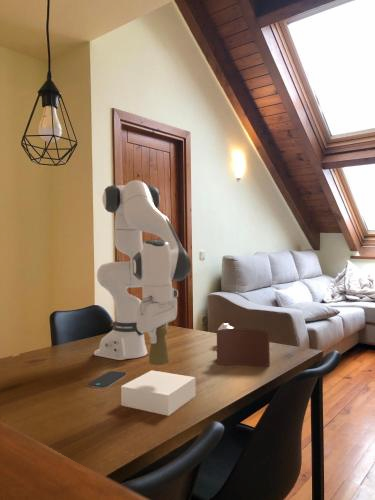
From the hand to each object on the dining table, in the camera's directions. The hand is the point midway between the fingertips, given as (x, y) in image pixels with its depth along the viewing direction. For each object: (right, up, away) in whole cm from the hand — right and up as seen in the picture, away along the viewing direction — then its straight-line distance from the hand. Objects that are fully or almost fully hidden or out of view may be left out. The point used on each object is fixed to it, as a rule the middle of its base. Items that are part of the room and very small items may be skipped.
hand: (158, 340), depth 122 cm
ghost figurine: (+27, -16, +62) cm, 69 cm away
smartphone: (-19, -18, +19) cm, 33 cm away
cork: (0, -7, 0) cm, 6 cm away
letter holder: (+30, -17, +38) cm, 51 cm away
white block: (0, -18, 0) cm, 18 cm away
